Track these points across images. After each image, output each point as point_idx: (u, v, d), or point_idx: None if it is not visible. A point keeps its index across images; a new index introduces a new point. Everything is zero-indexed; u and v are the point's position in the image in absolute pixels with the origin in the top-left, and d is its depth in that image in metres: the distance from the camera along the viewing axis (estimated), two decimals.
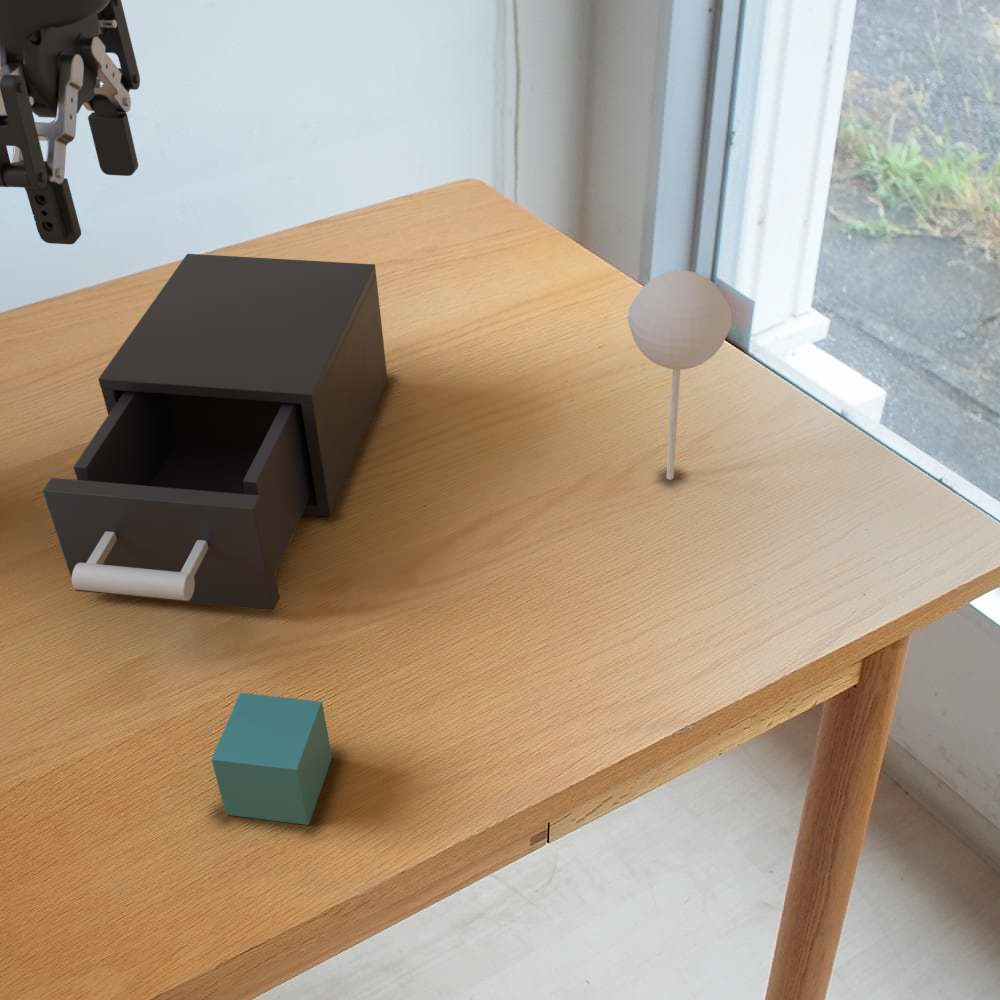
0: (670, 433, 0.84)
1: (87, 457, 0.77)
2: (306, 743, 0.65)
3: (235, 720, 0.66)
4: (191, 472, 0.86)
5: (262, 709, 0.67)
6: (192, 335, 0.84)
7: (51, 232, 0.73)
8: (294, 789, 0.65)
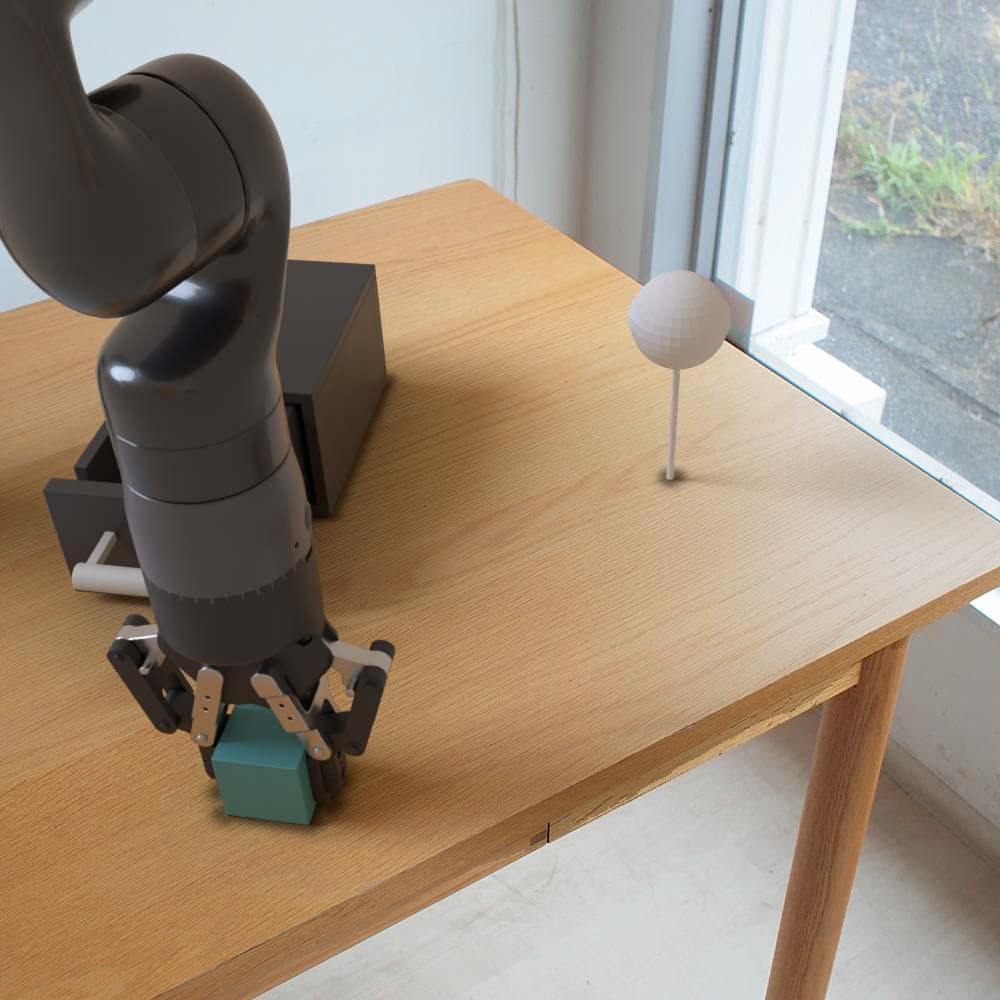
0: (670, 433, 0.84)
1: (87, 457, 0.77)
2: None
3: (235, 720, 0.66)
4: None
5: (262, 709, 0.67)
6: None
7: (343, 776, 0.67)
8: (294, 789, 0.65)
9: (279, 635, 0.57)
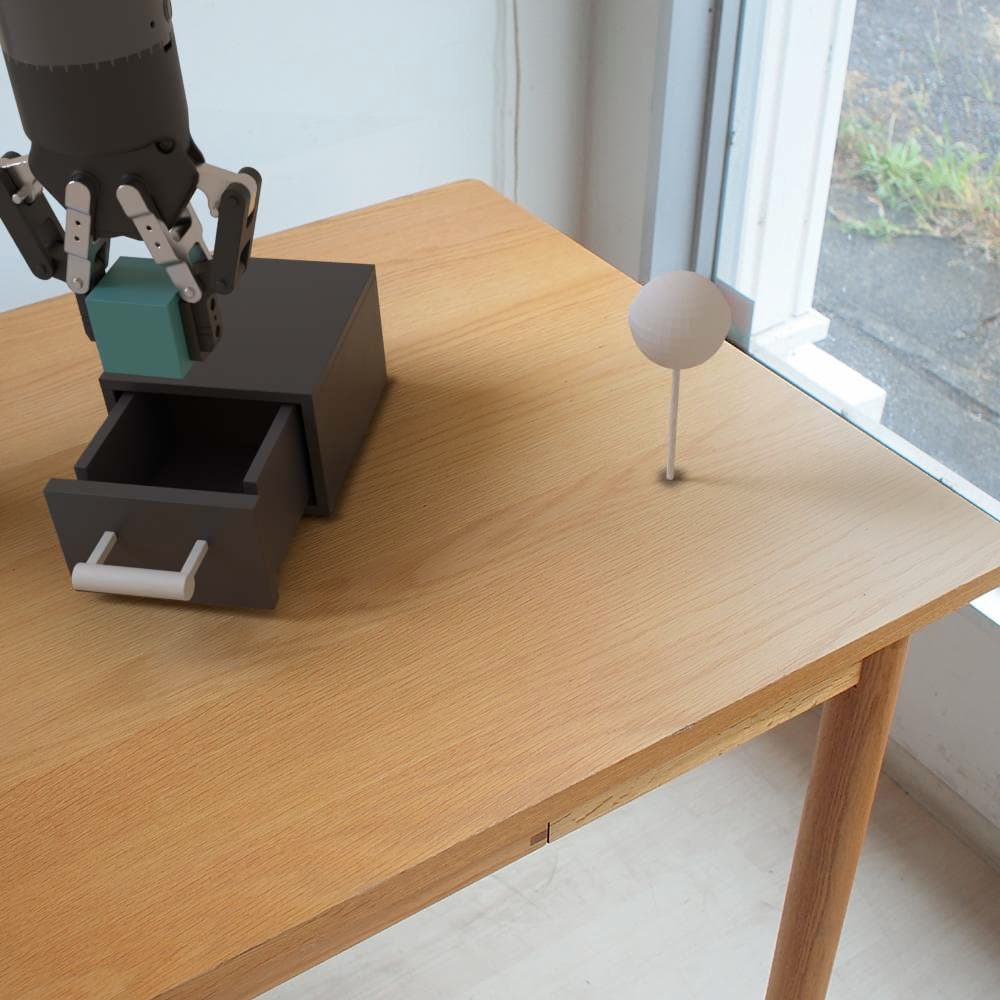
0: (670, 433, 0.84)
1: (87, 457, 0.77)
2: None
3: (112, 273, 0.68)
4: (191, 472, 0.86)
5: (140, 266, 0.68)
6: None
7: (219, 336, 0.69)
8: (166, 332, 0.66)
9: (138, 124, 0.59)
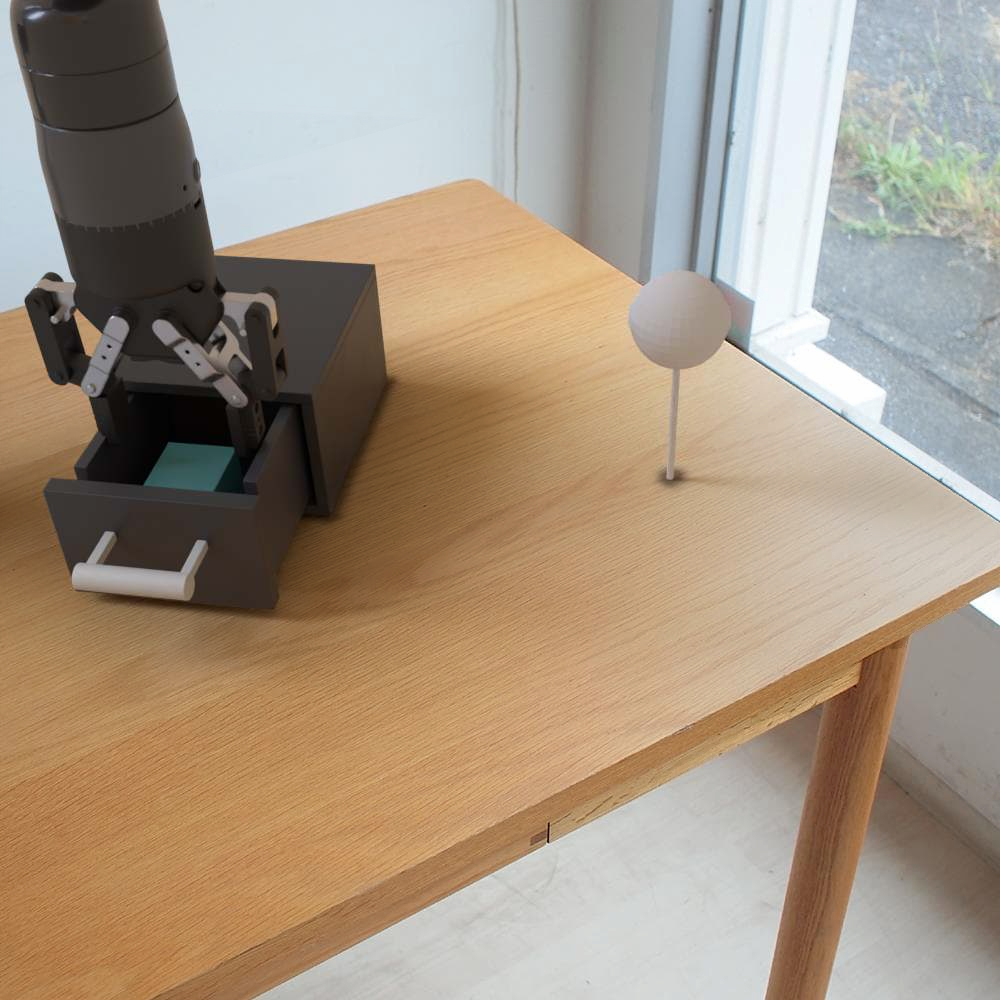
0: (670, 433, 0.84)
1: (87, 457, 0.77)
2: (222, 475, 0.78)
3: (164, 460, 0.79)
4: None
5: (186, 453, 0.80)
6: None
7: (262, 434, 0.77)
8: None
9: (172, 272, 0.67)
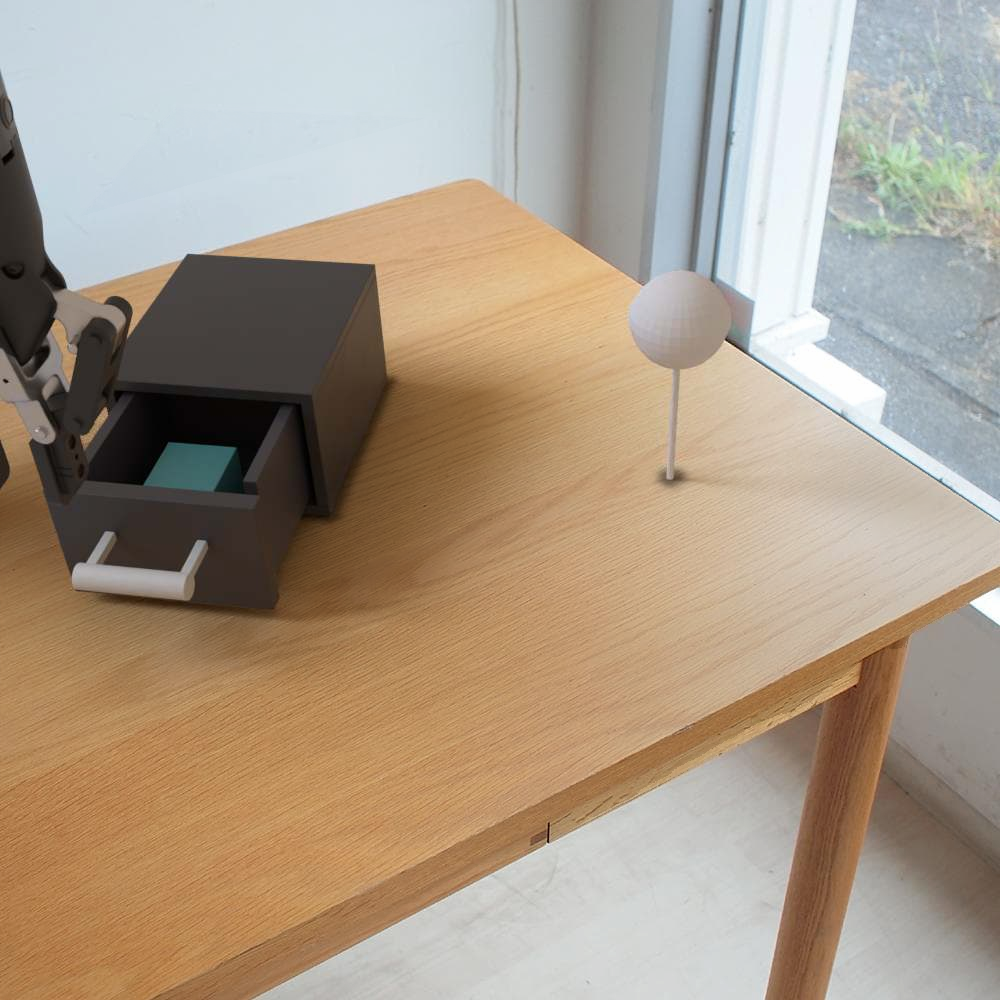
0: (670, 433, 0.84)
1: (87, 457, 0.77)
2: (222, 475, 0.78)
3: (164, 460, 0.79)
4: None
5: (186, 453, 0.80)
6: (192, 335, 0.84)
7: (83, 475, 0.59)
8: None
9: None
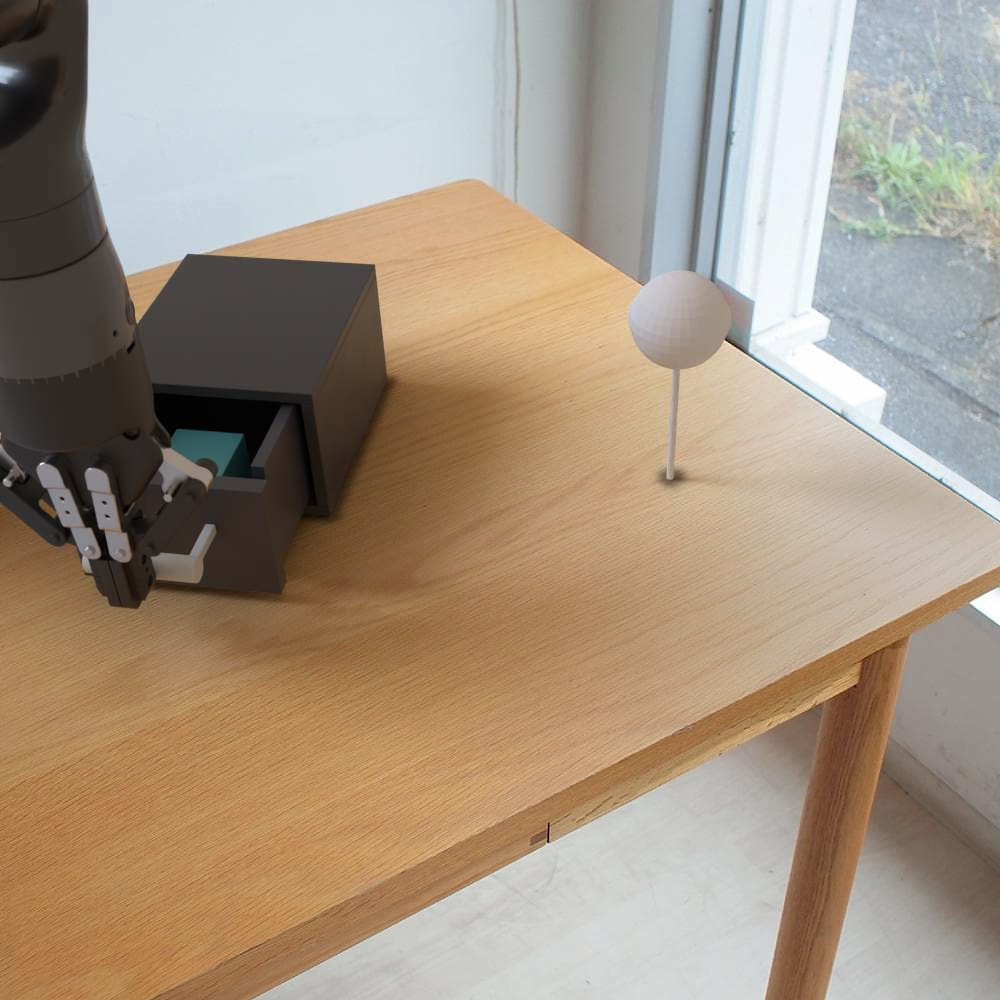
0: (670, 433, 0.84)
1: None
2: (229, 461, 0.79)
3: (172, 446, 0.81)
4: None
5: (194, 439, 0.81)
6: (192, 335, 0.84)
7: (151, 584, 0.72)
8: None
9: (103, 422, 0.61)
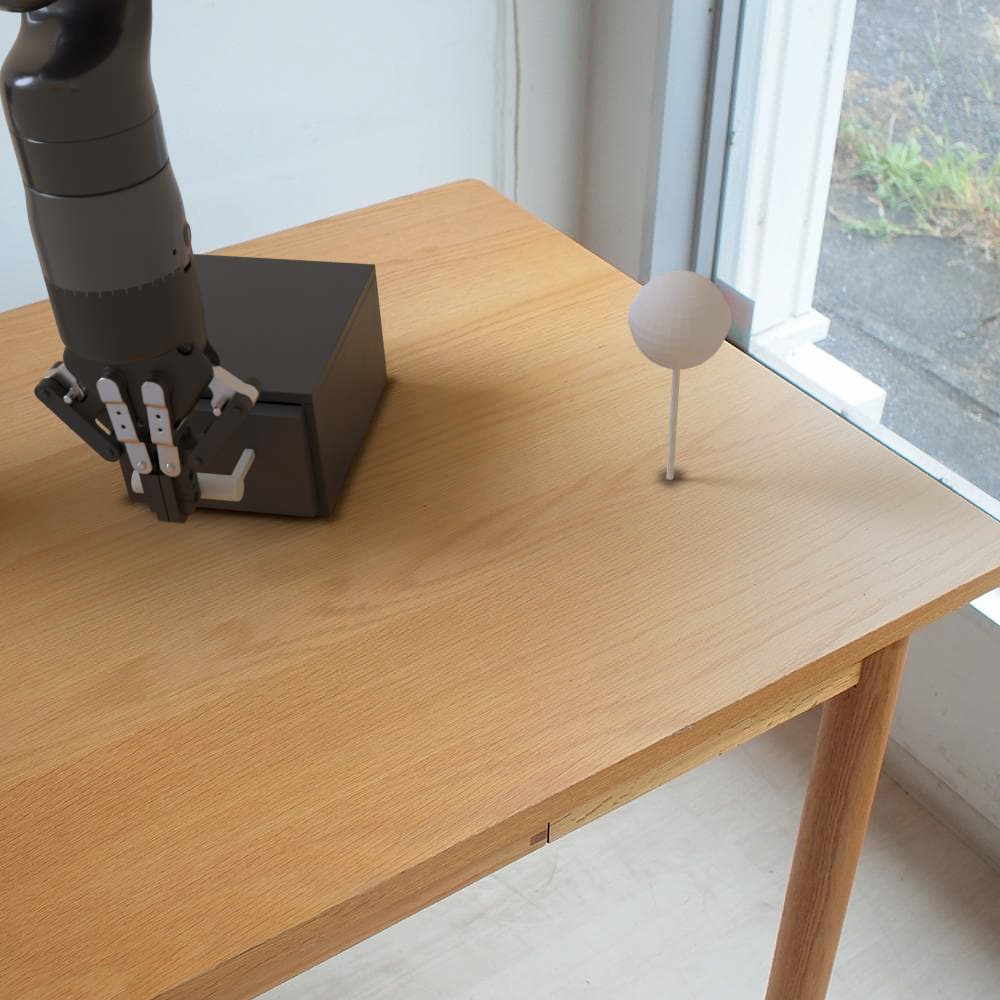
0: (670, 433, 0.84)
1: None
2: None
3: None
4: None
5: None
6: None
7: (197, 500, 0.77)
8: None
9: (161, 336, 0.67)
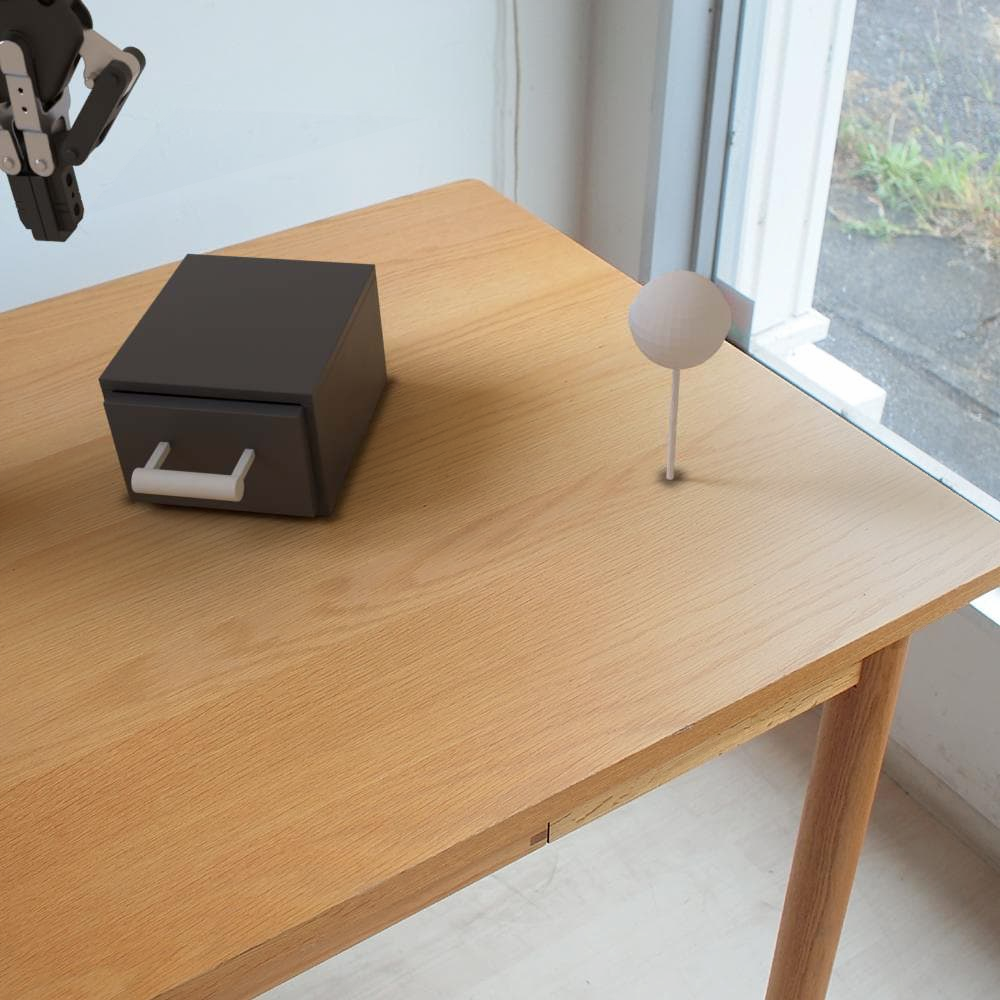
0: (670, 433, 0.84)
1: None
2: None
3: None
4: None
5: None
6: (192, 335, 0.84)
7: (79, 215, 0.66)
8: None
9: None
